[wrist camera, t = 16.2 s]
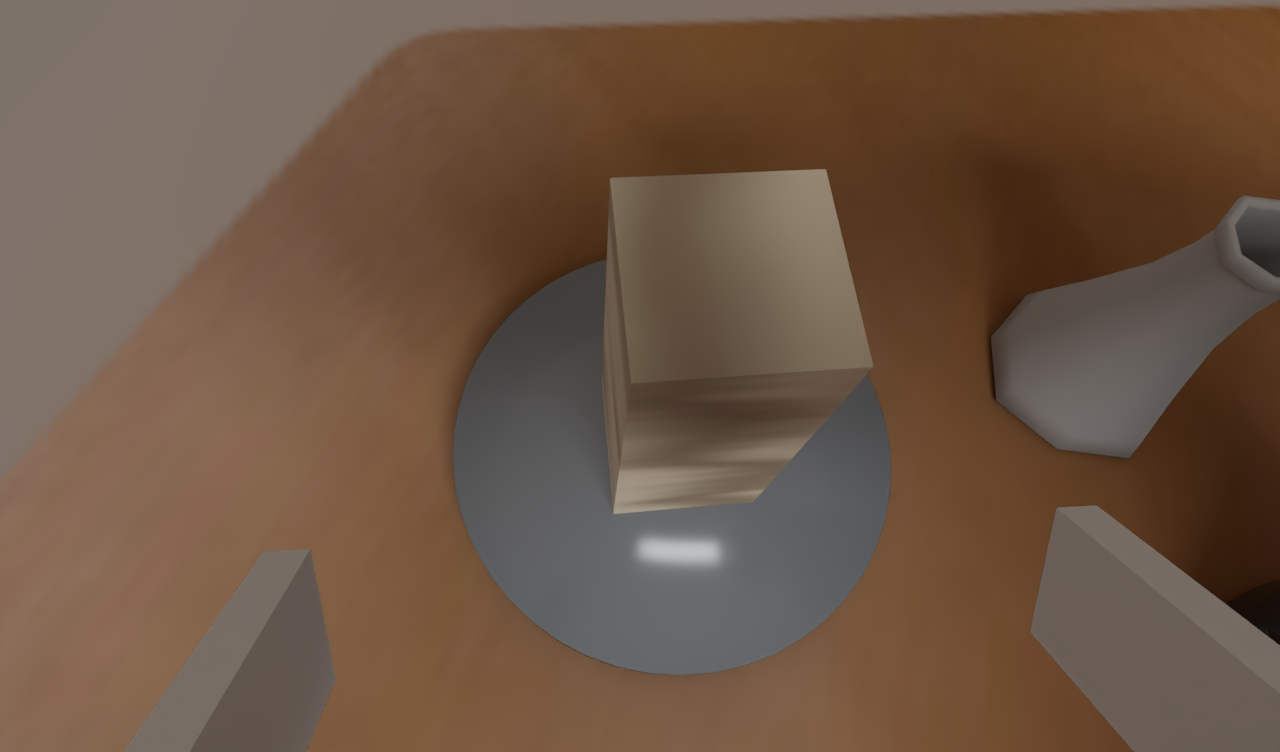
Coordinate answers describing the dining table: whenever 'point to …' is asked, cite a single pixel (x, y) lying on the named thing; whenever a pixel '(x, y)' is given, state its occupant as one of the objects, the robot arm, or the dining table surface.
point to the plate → (650, 540)
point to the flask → (1133, 334)
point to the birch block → (722, 332)
